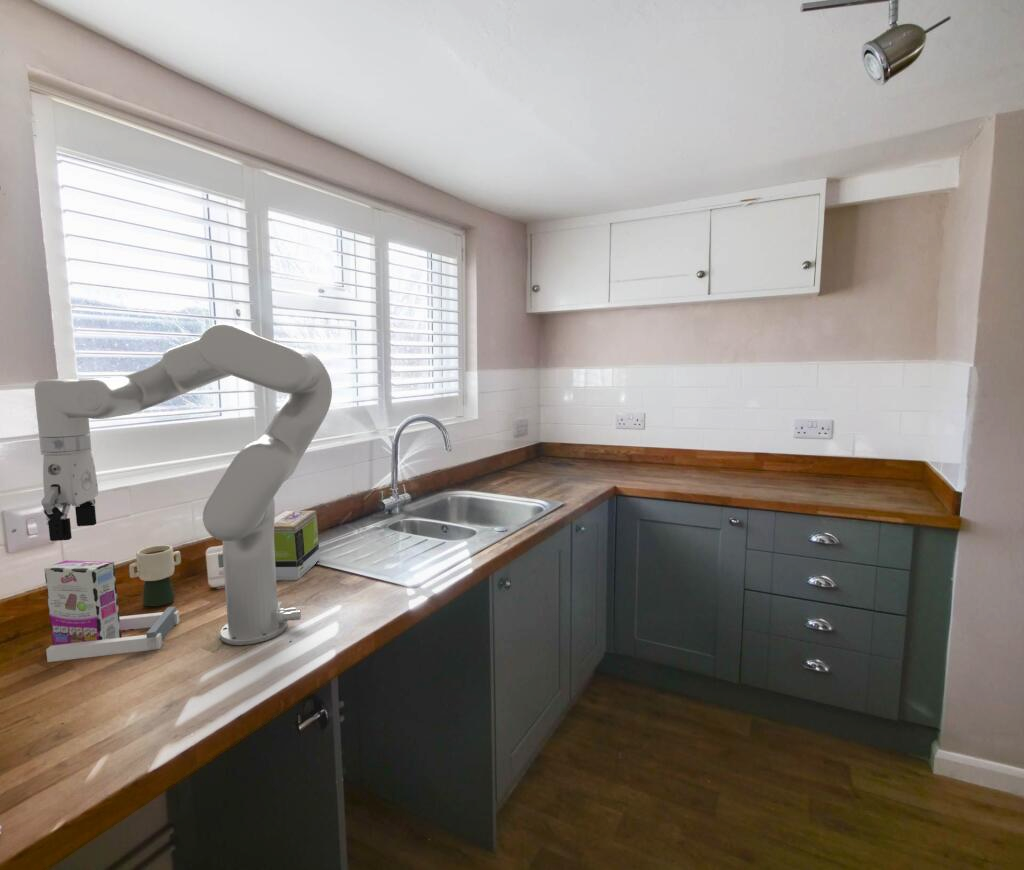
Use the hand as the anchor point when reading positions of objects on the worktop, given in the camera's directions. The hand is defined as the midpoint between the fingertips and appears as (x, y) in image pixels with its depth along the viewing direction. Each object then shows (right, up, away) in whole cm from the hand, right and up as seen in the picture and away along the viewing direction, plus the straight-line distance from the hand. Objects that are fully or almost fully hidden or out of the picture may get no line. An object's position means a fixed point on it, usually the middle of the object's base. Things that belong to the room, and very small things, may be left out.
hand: (74, 532), depth 107 cm
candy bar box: (0, -23, +3) cm, 23 cm away
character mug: (+3, -21, +21) cm, 30 cm away
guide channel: (+5, -22, +4) cm, 23 cm away
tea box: (+25, -18, +42) cm, 52 cm away
